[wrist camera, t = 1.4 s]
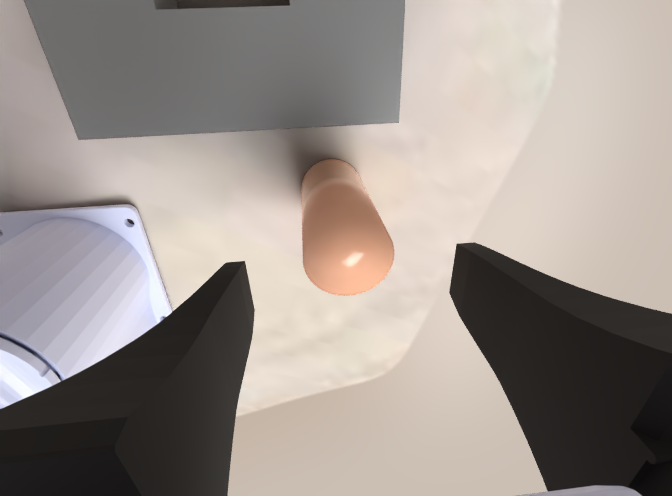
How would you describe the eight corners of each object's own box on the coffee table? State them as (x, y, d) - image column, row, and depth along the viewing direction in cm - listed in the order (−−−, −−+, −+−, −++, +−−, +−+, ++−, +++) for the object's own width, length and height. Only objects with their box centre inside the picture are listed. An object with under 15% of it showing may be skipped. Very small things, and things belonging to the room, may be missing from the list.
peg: (361, 214, 21) (392, 291, 14) (304, 218, 21) (306, 299, 14) (361, 157, 19) (396, 212, 12) (299, 160, 19) (298, 219, 12)
